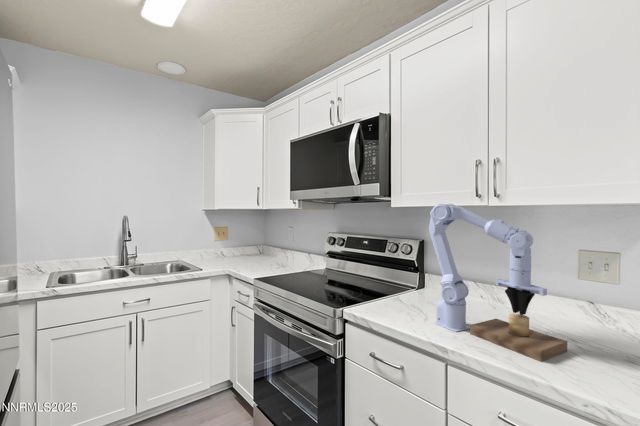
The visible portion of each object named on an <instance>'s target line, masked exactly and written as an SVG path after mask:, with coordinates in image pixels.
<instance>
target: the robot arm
mask: <svg viewBox="0 0 640 426" xmlns="http://www.w3.org/2000/svg"><path fill="white" fill-rule="evenodd" d="M429 215H430V220H429V225H428V232H429V236H430V239H431V242H432V245H433V248H434V253H435V256H436V258H437V260H436V261H437V263H438V266H439V269H440V272H441V276H442V278H441V281H440V285H441V291H440V292H441V293H440V294H441V297H442V298H441V299H439V301H438V302H437V304H436V321H434V324H435V325H438V326H440V327H443V328H445V329H448V330H450V331H452V332H455V333H458V332H459V333H460V332H463V331H466V330H470V325H467V316H466V314H467V301H466V298H467V297H468V296H469V292H470V291H469V287H468V286H467V284H466V283H465V281H464V280H463V277H462V276H461V275H460V274H459V273H458V270H457V266H456V263H455V260H454V259H455V258H454V256H453V253H452V250H451V246H450V244H449V240H448V237H447V233H446V230H447V229H448V227H449V226H450V224H451V223H454V221H456V220H463V221H464V222H467V223H469V224H471V225H474V226H477V227H478V228H481V229H483V230H484V232H485V234H486V235H487V236H488V237H491V238H493V239H495V240H497V241H499V242H501V243H503V244H506V245H508V248H509V249H510V250H509V269H508V270H509V271H508V272H509V276H508V278H509V279H508V280H507V279H501V278H498V279H495V286H496V287H503V288H504V287H505V288H506V289H504V293H505V295H507V298H508V300H509V302H510V305H511V310H512V314H520V315H526V314H527V310H528V307H529V304H530V303H531V302H532V300H533V298H534V296H535V295H539V296H541V297H545V296H547V295H548V289H547V288H544V287H541V286H537V285H535V284H531V283H532V280H531V279H532V247H531V246H532V245H533V243H534V237H533V236H532V234H530V233H529V232H527V231H526V230H520V228H519V227H518V226H514V227H513V226H511V225H509V224H507V223H505V221H504V219H503V220H502V219H491V220H488V219H487V218H485V217H482V216H480V215H479V214H476V213H475V212H473V211H470V210H468V209H467V208H464V207H462V206H459V205H455V204H452V203H449V204H448V203H437V204H436V205H434V206H433V208H432V209H431V211H430V212H429Z"/></svg>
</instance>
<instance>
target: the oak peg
mask: <svg viewBox="0 0 640 426" xmlns="http://www.w3.org/2000/svg"><path fill="white" fill-rule="evenodd" d="M508 323H509V333H510V334H512V335H514V336H518V337H529V329H530V317H529V316H527V315H526V314H524V315H520V313H509V314H508Z"/></svg>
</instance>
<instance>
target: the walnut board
mask: <svg viewBox="0 0 640 426" xmlns="http://www.w3.org/2000/svg"><path fill="white" fill-rule="evenodd" d="M469 326H470V329H469V335H473V336H475V337H478V338H480V339H482V340H485V341H487V342H490V343H493V344H495V345H497V346H501V347H502V348H505V349H507V350H510V351H512V352H516V353H518V354H521V355H524V356H525V357H528V358H531V359H534V360H536V361H538V362H543V361H547V360H548V359H551V358H554V357H556V356H559V355H561V354H564V353H566V352H568V341H567V340H565V339H561V338H557V337H555V336H553V335H549V334H546V333H543V332H540V331H536V330H533V329H530V328H529V337H518V336H514V335H512V334H510V333H509V321H505V320H502V319H498V318H493V319H489V320H485V321H481V322H477V323H472V324H470V325H469Z"/></svg>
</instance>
